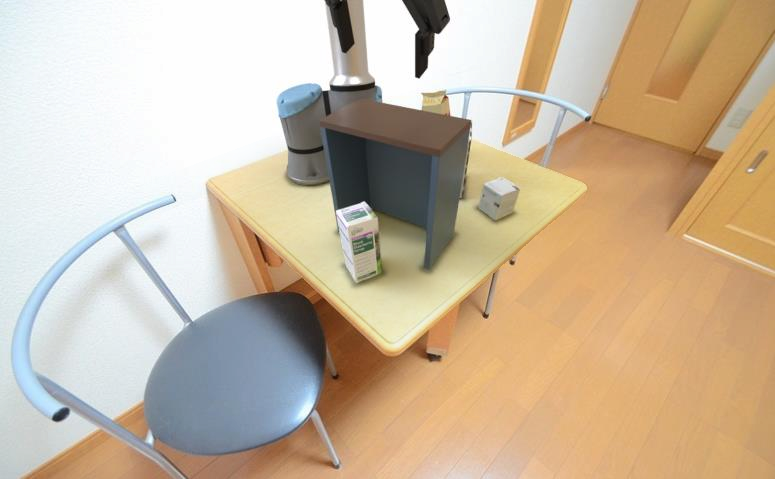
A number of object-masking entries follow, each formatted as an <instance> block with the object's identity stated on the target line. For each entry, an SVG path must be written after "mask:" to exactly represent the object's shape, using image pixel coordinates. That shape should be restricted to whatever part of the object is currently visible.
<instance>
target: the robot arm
mask: <svg viewBox="0 0 775 479" xmlns="http://www.w3.org/2000/svg"><path fill="white" fill-rule="evenodd" d="M323 1H324V5H325V11H326V20H327V21H326V22H327V28H328V35H329V44H330V45H329V46H330V51H331V59H332V60H331V61H332V67H333V76H332V77H331V79H330V80H329V82H328V84H329V89H327V90H323V88H322V87H321V85H320V84H319V83H314V82H313V83H301V84H297V85H294V86H291V87H288V88H287V89H285V90H282V91H281V92H280V93H279V95H277V98H276V106H277V112H278V114H277V115H278V118H279V120H280V125H281V128H282V131H283V136H284V139H285V143H286V147H287V165H286V174H287V177H288V179H289V180H290V181H291V182H292V183H294V184H297V185H301V186H316V185H317V186H318V185H322V184H325V183H328V182H330V181H329V175H328V170H327V164H326V158H325V152H324V147H323V141H322V135H321V129H320V123H319V120H320V119H322V118H324V117H326V116H328V115H330V114H332V113H334V112H336V111H338V110H340V109H341V108H343V107H345V106H347V105H349V104H351V103H353V102H355V101H357V100H359V99H366V100H371V101H376V102H381V103H383V91H382V87H380V86H379V85H376V79H375V77H374V76H373V75H371V73H370V72H369V62H368V59H369V58H368V48H367V34H366V32H367V31H366V21H365V20H366V19H365V6H364V0H323ZM401 1H402V4H403V5H404V7H405V8H406V10H407V12H408V14H409V15H410V16H411V18H412V20H413V21H414V23H415V25H416V27H417V29H418V30H417V31H416V32H415V34H414V78H416V79H421V77H422V76H423V75H424V73H425V72H426V71H427V70H428V68H429V56H430V55H431V54H432V52H433V51H434V49H435V39H436V35H440V34H441V33H442V32H443V31H444V29H445V28H446V27H447V26H448V24H449V23H450V21H451V17H450V14H449V10H448V7H447V3H446V0H401Z"/></svg>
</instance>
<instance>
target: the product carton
mask: <svg viewBox="0 0 775 479" xmlns="http://www.w3.org/2000/svg"><path fill="white" fill-rule="evenodd" d="M521 190H522V189H521V187H519V186H518V185H516V184H515V183H513V182H512V181H510V180H508V179H506V178H505V177H503V176H500V177H498V178H495V179H492V180H490V181H486V182H484V183H483V186H482V189H481V193H480V198H479V202H478V209H479V210H480V211H481V212H483V213H484V214H486V216H488V217H489V218H491V219H492V220H493V221H498V220H500V219H502V218H505V217H506V216H510V215H511V214H513V213H514V209H515V207H516V203H517V201H518V198H519V195H520V192H521Z"/></svg>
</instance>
